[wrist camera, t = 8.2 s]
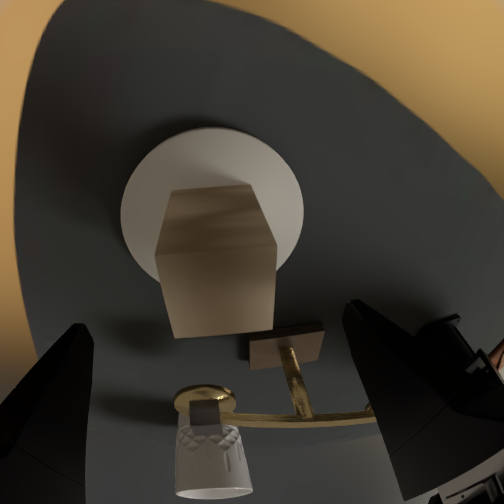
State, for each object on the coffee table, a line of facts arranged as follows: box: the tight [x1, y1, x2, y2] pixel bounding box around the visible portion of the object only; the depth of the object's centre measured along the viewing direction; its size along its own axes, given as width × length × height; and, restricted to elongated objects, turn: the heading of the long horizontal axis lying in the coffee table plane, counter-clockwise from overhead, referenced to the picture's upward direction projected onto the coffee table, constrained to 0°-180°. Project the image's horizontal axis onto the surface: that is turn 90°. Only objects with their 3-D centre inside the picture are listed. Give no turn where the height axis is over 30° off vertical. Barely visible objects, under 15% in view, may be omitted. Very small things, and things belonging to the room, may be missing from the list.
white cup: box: [175, 411, 253, 499], centre depth 25 cm, size 8×8×10 cm
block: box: [154, 185, 278, 338], centre depth 13 cm, size 4×4×6 cm
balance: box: [174, 322, 377, 436], centre depth 20 cm, size 18×4×9 cm, turn 90°
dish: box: [121, 127, 303, 282], centre depth 16 cm, size 10×10×1 cm
